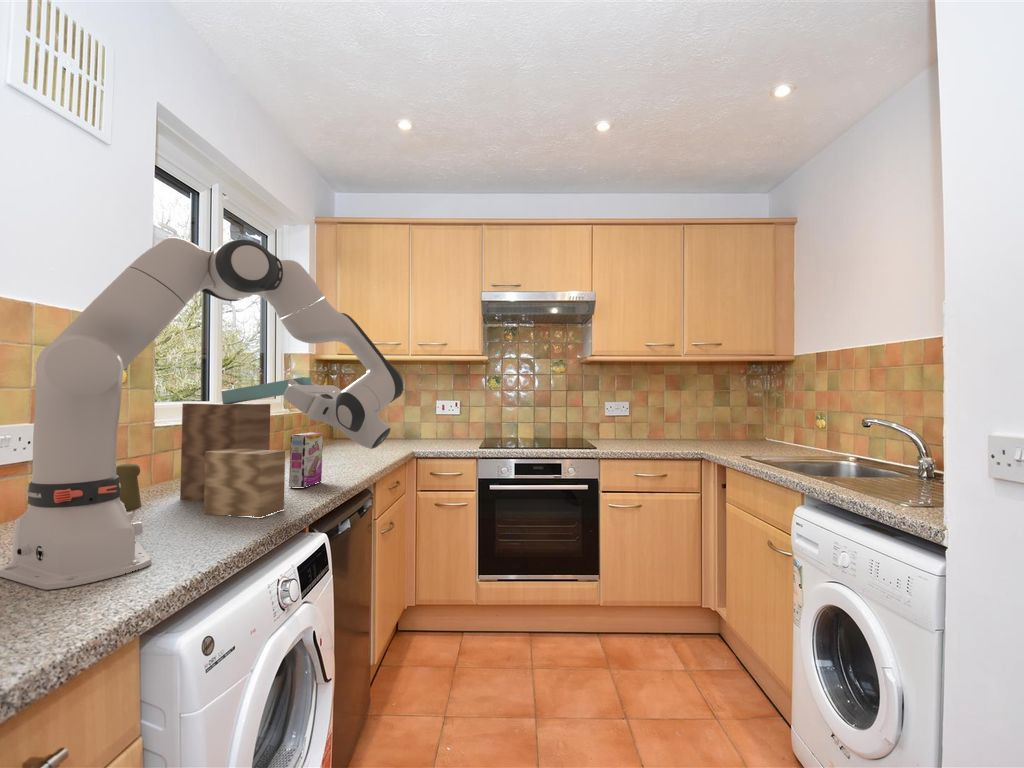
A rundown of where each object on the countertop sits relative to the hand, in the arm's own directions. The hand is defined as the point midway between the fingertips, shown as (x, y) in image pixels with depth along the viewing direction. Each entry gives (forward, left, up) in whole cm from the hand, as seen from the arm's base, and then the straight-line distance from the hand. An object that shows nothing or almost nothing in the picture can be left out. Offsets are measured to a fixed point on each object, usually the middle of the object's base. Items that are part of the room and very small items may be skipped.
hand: (296, 381), depth 133 cm
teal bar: (+9, +3, -4) cm, 10 cm away
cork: (+26, +29, -33) cm, 51 cm away
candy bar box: (+17, -15, -33) cm, 40 cm away
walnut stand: (+20, +8, -32) cm, 39 cm away
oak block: (-1, +14, -32) cm, 35 cm away
